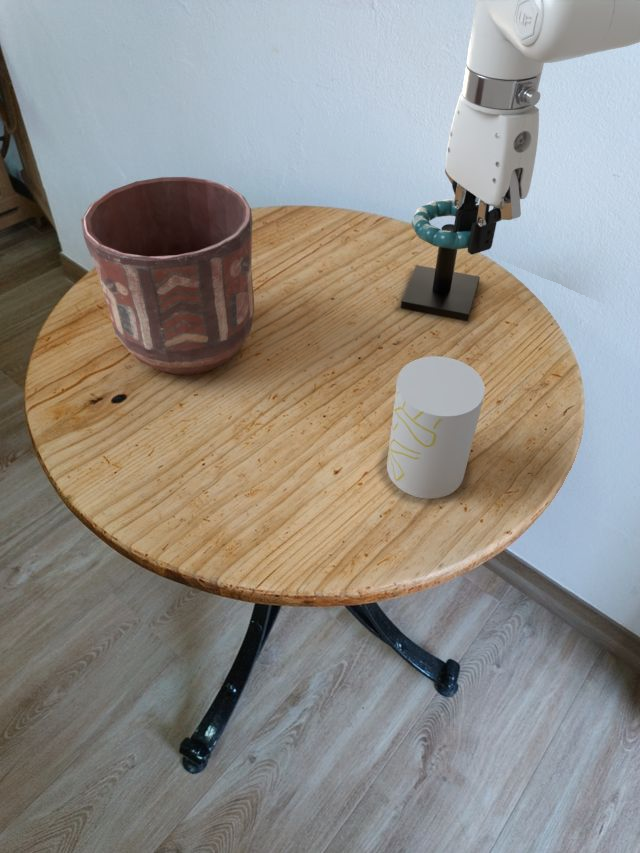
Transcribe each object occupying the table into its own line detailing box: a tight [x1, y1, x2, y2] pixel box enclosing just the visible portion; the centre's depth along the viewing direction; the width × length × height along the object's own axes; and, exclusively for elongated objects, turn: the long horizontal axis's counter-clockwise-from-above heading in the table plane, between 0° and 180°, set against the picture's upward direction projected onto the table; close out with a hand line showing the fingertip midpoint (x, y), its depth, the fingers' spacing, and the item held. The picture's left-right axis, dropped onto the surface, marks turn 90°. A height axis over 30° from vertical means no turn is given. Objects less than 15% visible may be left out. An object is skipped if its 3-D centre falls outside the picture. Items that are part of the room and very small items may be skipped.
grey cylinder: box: [386, 355, 486, 500], centre depth 68 cm, size 8×8×12 cm
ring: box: [411, 198, 471, 250], centre depth 85 cm, size 10×10×2 cm
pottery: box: [80, 176, 255, 376], centre depth 80 cm, size 18×18×18 cm
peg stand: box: [400, 223, 481, 322], centre depth 90 cm, size 9×9×10 cm
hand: (471, 243), depth 84 cm, fingers closed on ring, 2 cm apart
